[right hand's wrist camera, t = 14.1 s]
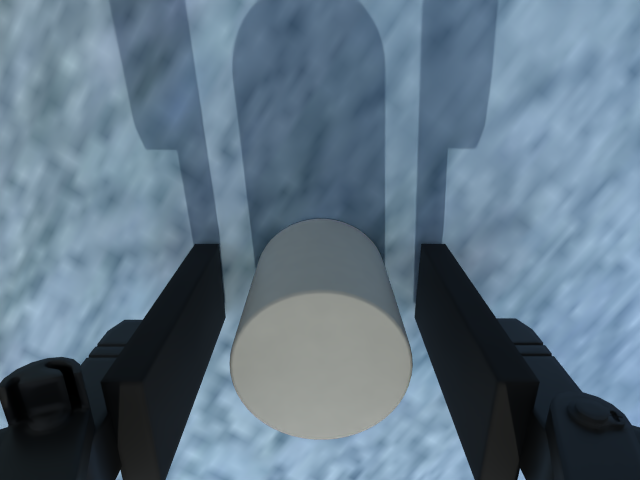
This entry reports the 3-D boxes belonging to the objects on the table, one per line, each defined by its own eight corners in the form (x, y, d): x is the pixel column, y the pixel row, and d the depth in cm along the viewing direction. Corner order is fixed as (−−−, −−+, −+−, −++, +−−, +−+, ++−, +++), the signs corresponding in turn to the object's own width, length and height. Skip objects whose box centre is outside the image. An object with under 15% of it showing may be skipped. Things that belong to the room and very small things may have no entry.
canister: (233, 250, 14) (194, 334, 10) (353, 196, 14) (370, 260, 9) (292, 349, 16) (281, 462, 11) (403, 305, 15) (439, 406, 11)
